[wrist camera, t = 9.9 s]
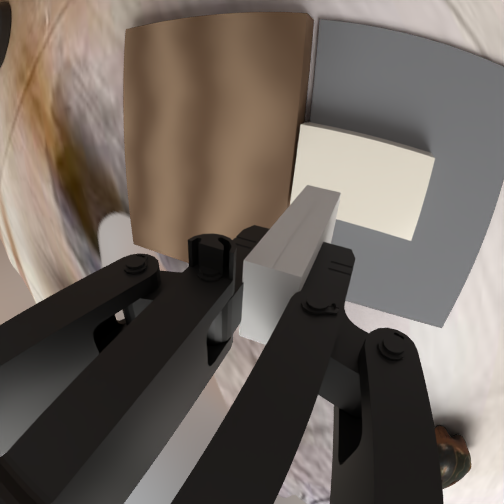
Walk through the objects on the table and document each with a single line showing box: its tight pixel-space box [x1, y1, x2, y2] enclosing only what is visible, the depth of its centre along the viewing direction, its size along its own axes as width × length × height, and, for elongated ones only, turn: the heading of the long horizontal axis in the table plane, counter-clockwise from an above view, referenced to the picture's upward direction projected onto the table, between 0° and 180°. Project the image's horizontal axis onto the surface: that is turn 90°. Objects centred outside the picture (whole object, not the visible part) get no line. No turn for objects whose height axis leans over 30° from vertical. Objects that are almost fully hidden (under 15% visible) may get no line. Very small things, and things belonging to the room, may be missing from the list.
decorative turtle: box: [435, 425, 471, 489], centre depth 27 cm, size 10×15×8 cm, turn 73°
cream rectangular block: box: [290, 122, 435, 241], centre depth 20 cm, size 9×6×2 cm, turn 86°
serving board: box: [123, 12, 314, 263], centre depth 24 cm, size 16×22×2 cm
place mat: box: [310, 19, 504, 328], centre depth 20 cm, size 15×22×1 cm
